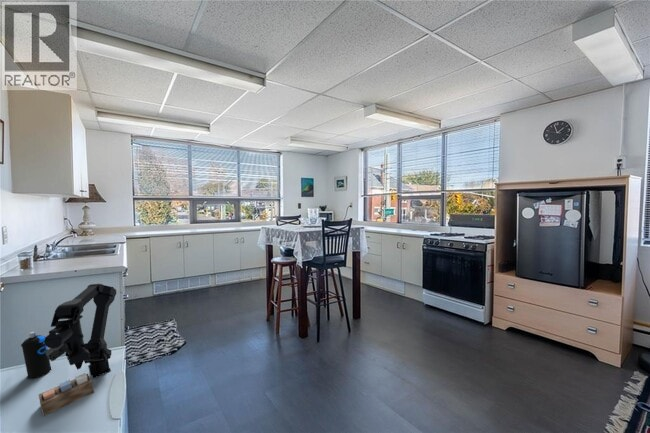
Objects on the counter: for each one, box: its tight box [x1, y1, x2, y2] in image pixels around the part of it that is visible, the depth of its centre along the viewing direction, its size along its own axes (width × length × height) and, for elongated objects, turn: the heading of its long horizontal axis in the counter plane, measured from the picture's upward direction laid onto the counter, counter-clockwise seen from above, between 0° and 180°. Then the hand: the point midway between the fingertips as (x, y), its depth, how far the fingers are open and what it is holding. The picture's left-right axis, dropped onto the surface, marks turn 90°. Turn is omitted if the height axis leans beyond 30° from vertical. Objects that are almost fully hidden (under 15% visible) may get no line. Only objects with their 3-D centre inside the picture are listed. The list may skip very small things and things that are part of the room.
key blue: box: [58, 379, 72, 393], centre depth 118 cm, size 3×3×4 cm
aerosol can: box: [20, 331, 52, 380], centre depth 134 cm, size 8×8×20 cm
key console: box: [38, 373, 95, 417], centre depth 118 cm, size 15×8×5 cm, turn 140°
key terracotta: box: [42, 388, 55, 400], centre depth 114 cm, size 3×3×4 cm
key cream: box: [74, 373, 88, 386], centre depth 121 cm, size 3×3×4 cm
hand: (78, 368), depth 121 cm, fingers closed
